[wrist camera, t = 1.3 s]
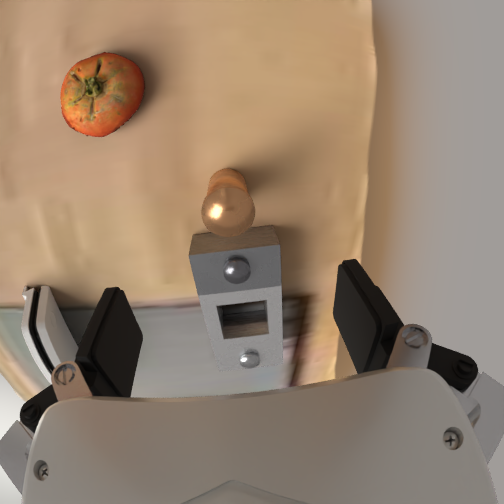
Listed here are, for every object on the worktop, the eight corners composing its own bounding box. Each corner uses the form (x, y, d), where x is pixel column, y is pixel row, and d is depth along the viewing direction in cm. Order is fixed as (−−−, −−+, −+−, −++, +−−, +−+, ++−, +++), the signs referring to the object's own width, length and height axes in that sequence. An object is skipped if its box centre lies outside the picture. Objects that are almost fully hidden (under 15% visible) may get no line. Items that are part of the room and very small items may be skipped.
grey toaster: (23, 284, 29) (7, 333, 21) (50, 277, 30) (38, 327, 22) (65, 363, 37) (66, 411, 29) (88, 359, 39) (92, 407, 31)
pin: (204, 169, 24) (197, 191, 19) (245, 164, 25) (252, 184, 19) (209, 207, 26) (205, 239, 21) (249, 202, 27) (257, 233, 21)
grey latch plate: (192, 234, 28) (187, 259, 24) (272, 225, 28) (281, 247, 24) (218, 347, 36) (219, 375, 32) (278, 340, 37) (283, 367, 33)
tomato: (160, 119, 20) (79, 135, 15) (124, 137, 25) (59, 153, 20) (148, 39, 17) (71, 41, 12) (114, 69, 22) (50, 77, 17)
